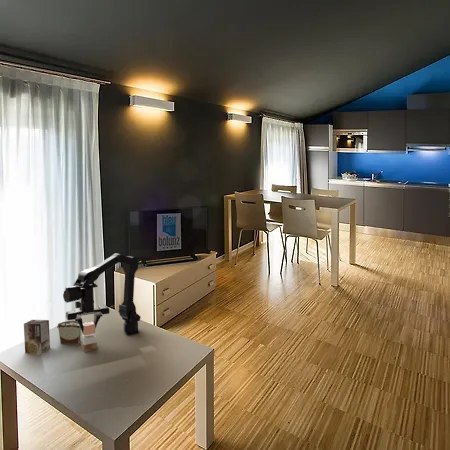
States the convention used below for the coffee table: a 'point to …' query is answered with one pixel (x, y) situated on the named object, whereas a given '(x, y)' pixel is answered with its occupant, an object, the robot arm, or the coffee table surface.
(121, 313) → the robot arm
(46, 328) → the coffee box
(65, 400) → the coffee table surface
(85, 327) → the clay block
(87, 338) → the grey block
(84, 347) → the walnut block
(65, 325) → the food container
